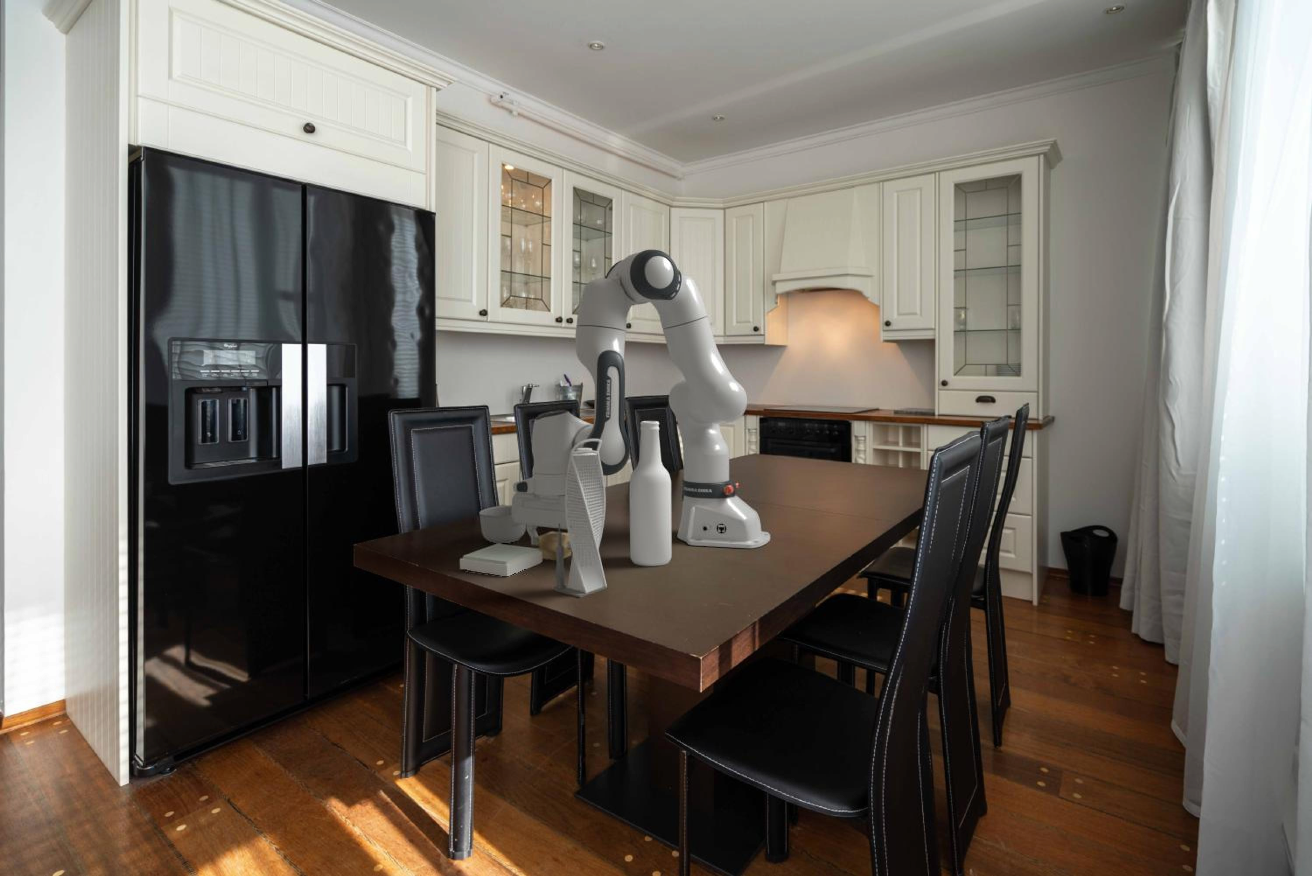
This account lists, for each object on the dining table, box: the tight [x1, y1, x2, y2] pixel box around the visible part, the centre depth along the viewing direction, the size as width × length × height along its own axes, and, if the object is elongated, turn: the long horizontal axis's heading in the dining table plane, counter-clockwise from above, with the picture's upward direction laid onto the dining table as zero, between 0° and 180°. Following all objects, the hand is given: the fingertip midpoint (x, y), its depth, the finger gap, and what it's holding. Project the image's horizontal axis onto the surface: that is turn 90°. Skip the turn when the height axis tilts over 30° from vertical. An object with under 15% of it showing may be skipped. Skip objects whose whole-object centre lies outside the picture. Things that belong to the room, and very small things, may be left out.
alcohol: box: [629, 420, 673, 567], centre depth 145 cm, size 9×9×30 cm
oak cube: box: [538, 530, 572, 561], centre depth 151 cm, size 5×5×5 cm
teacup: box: [478, 504, 527, 544], centre depth 166 cm, size 14×11×8 cm
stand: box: [459, 544, 543, 577], centre depth 143 cm, size 12×12×3 cm
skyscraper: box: [553, 439, 608, 599], centre depth 127 cm, size 8×8×28 cm
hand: (554, 547), depth 151 cm, fingers open, 8 cm apart
